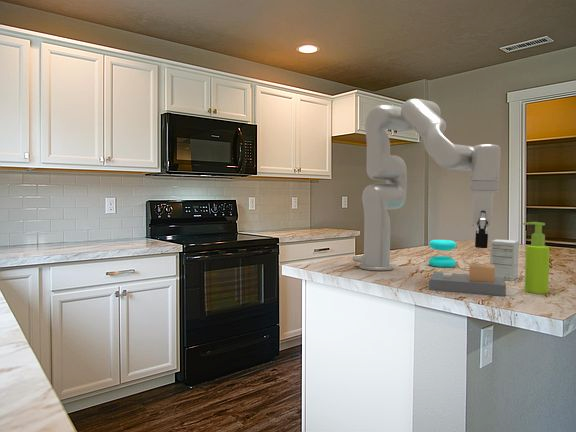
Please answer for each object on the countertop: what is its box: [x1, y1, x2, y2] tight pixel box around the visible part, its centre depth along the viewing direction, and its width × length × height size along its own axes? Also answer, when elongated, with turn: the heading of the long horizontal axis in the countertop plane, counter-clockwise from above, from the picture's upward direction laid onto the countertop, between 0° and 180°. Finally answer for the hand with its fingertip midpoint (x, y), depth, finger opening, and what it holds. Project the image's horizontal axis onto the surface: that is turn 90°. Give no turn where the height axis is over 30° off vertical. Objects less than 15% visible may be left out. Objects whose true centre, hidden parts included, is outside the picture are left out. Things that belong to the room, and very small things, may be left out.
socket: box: [428, 271, 507, 297], centre depth 131 cm, size 20×14×4 cm
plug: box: [468, 262, 495, 282], centre depth 130 cm, size 7×7×7 cm
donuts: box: [428, 239, 457, 268], centre depth 174 cm, size 10×10×10 cm
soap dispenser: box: [522, 221, 551, 295], centre depth 128 cm, size 6×7×20 cm
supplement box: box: [489, 238, 520, 282], centre depth 149 cm, size 7×7×13 cm
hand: (481, 245), depth 130 cm, fingers open, 9 cm apart
